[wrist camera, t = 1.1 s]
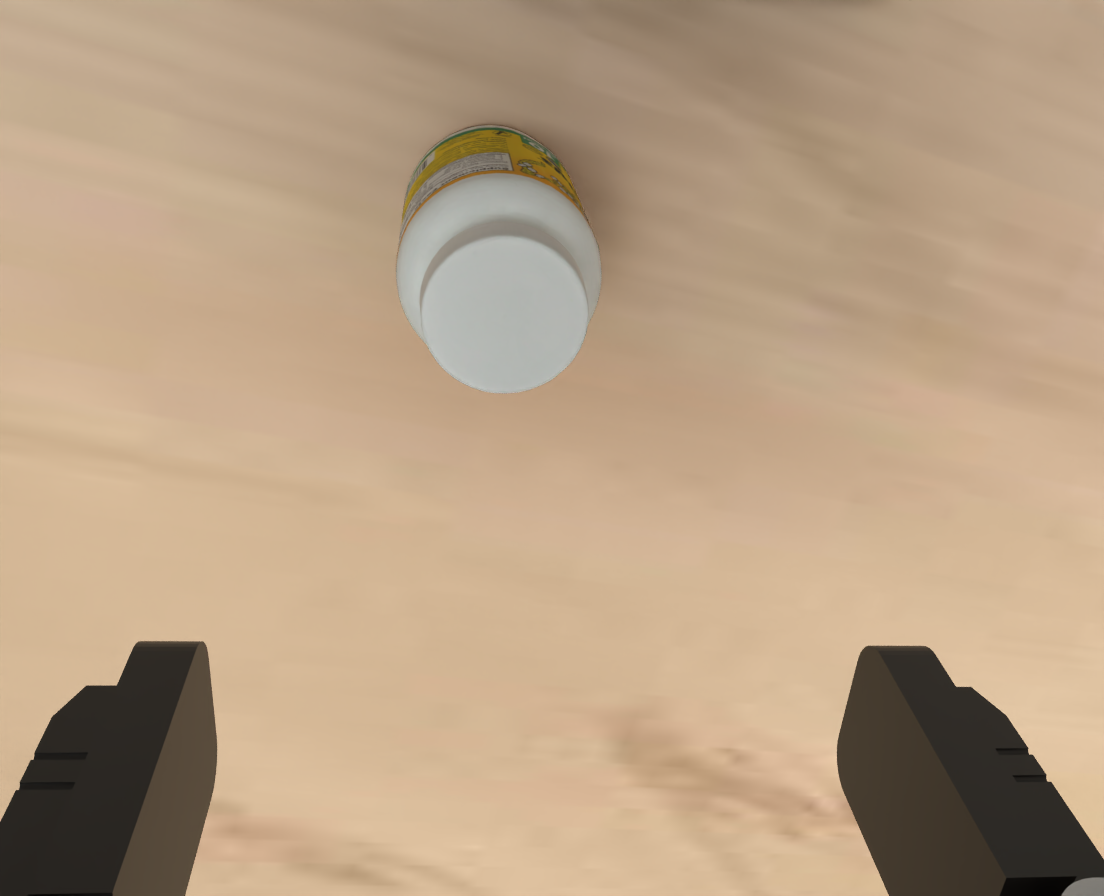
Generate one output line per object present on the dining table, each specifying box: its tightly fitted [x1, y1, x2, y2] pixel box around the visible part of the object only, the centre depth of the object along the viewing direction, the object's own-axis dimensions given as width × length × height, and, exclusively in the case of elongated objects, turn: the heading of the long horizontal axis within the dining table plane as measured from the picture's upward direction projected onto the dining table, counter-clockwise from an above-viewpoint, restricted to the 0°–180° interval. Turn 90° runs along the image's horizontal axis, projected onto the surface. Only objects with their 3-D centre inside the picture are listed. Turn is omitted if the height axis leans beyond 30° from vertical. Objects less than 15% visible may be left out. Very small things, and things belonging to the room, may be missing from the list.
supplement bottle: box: [396, 125, 602, 394], centre depth 29 cm, size 5×5×10 cm
